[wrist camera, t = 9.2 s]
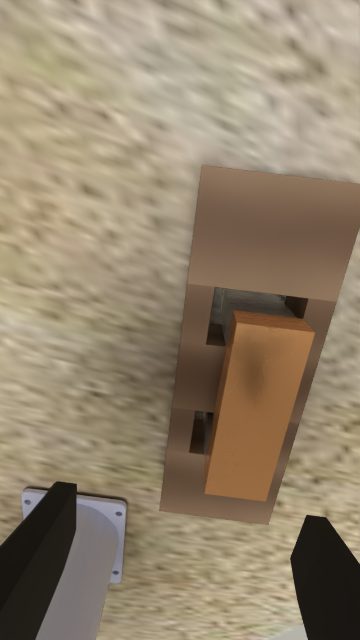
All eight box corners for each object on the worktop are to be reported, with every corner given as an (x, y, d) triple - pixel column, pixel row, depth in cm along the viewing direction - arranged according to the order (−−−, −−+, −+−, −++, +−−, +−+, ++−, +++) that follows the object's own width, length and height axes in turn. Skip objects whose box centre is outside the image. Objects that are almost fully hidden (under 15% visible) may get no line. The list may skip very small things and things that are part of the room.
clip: (247, 420, 21) (265, 501, 15) (202, 414, 21) (204, 493, 15) (277, 290, 18) (315, 332, 12) (224, 284, 18) (237, 322, 12)
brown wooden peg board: (259, 484, 23) (268, 524, 20) (163, 472, 23) (159, 510, 20) (340, 188, 16) (372, 185, 13) (201, 171, 16) (201, 165, 13)
